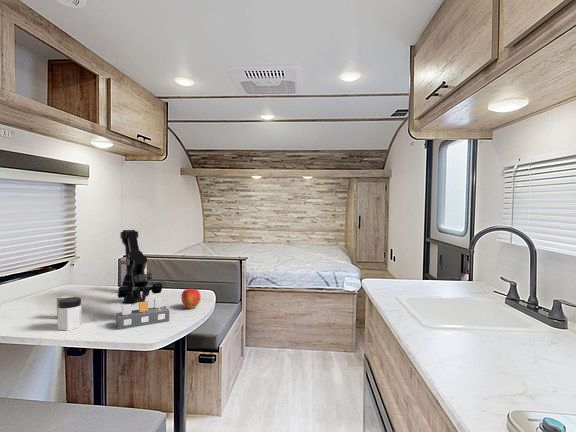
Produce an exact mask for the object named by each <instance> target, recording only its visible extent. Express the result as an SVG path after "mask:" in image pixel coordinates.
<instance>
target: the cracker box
mask: <svg viewBox="0 0 576 432" xmlns="http://www.w3.org/2000/svg"><path fill="white" fill-rule="evenodd" d="M120 262H121V263H120V265H121V267H120V268H121V269H120V270H121V271H120V281H121V282H120V286H122V281H123V278H124V276H125V275H126V257H124V258H121V259H120ZM144 273H145V274H147V273H148V262H147V263H146V267H145V270H144ZM140 293H141V296H142V293H143V292H140Z"/></svg>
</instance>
